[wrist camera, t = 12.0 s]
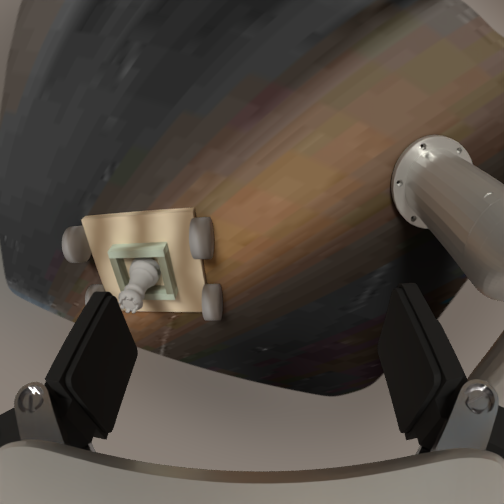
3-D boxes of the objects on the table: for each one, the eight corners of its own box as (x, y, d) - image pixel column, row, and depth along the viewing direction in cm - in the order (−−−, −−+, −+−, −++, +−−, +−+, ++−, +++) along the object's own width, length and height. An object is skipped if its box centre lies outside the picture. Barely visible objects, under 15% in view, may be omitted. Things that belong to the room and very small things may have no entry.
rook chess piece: (155, 285, 44) (139, 324, 37) (128, 271, 43) (107, 308, 36) (167, 263, 42) (150, 302, 35) (137, 248, 41) (116, 285, 34)
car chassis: (210, 206, 39) (203, 225, 35) (224, 306, 47) (220, 330, 43) (74, 217, 40) (56, 234, 36) (105, 305, 48) (94, 325, 44)
